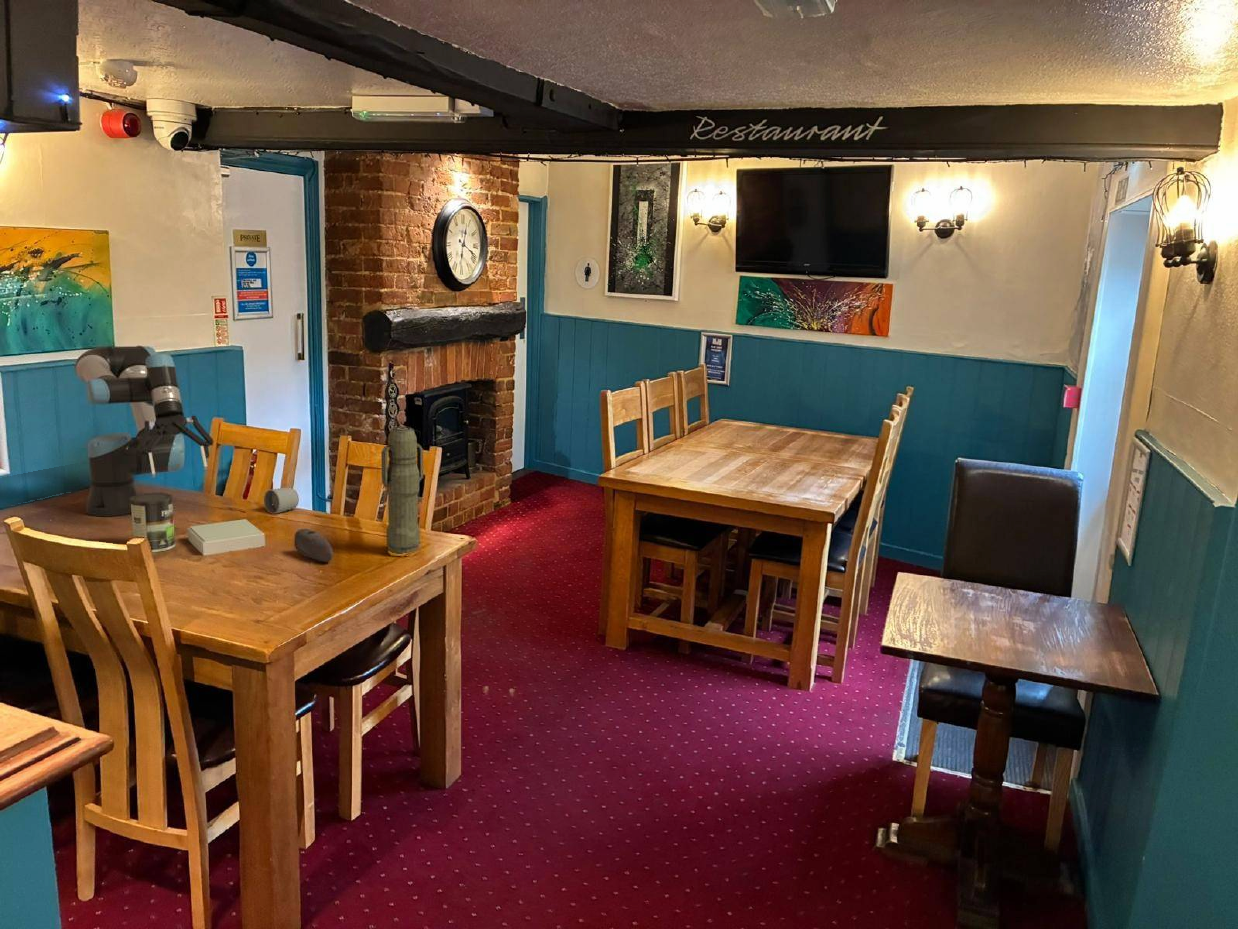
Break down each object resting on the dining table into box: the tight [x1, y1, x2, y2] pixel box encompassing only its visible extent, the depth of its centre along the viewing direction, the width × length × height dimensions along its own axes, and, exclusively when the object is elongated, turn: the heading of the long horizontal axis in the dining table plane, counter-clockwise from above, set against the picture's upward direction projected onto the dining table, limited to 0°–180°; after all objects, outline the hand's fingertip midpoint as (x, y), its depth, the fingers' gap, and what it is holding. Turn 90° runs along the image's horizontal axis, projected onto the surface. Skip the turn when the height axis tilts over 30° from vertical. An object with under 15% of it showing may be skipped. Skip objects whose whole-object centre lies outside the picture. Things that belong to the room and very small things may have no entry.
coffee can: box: [130, 492, 176, 553], centre depth 245 cm, size 10×10×14 cm
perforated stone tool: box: [293, 528, 334, 563], centre depth 243 cm, size 15×5×7 cm, turn 48°
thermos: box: [381, 426, 424, 554], centre depth 248 cm, size 9×12×35 cm
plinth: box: [187, 518, 266, 556], centre depth 252 cm, size 16×16×4 cm
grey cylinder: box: [263, 487, 300, 515], centre depth 286 cm, size 11×8×8 cm
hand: (180, 472), depth 261 cm, fingers open, 13 cm apart
